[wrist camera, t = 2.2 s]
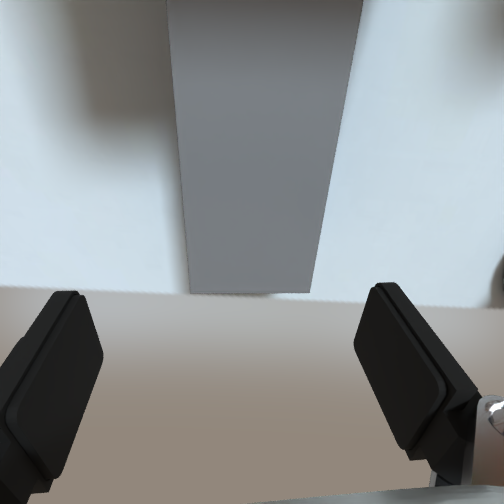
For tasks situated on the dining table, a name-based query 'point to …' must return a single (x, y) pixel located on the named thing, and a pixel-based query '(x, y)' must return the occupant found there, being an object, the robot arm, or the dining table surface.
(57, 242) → the dining table surface
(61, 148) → the dining table surface
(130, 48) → the dining table surface
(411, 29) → the dining table surface
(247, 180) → the grey u-shaped piece
